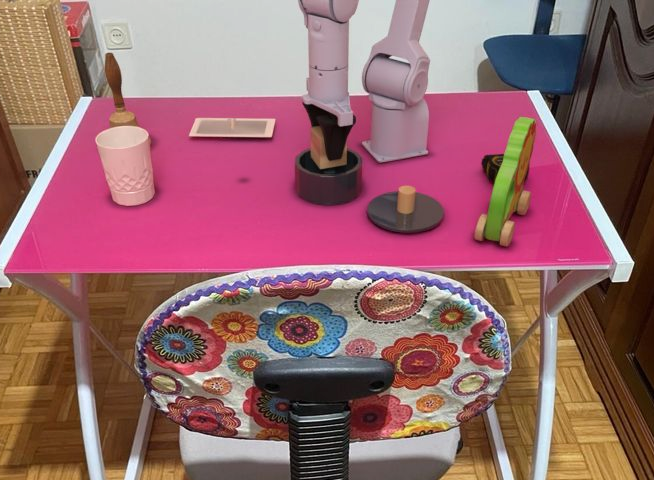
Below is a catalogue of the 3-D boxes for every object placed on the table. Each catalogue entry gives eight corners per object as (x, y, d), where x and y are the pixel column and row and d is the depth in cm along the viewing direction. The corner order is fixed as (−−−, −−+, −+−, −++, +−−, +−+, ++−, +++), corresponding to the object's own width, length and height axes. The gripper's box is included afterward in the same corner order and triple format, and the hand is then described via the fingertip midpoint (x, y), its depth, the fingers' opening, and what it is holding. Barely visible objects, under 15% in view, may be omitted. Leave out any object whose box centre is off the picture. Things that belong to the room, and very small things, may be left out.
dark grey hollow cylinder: (347, 169, 122) (347, 141, 119) (371, 198, 114) (372, 169, 111) (287, 179, 119) (286, 151, 116) (308, 210, 112) (308, 181, 108)
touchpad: (272, 142, 130) (271, 131, 128) (189, 141, 130) (187, 130, 129) (276, 124, 136) (275, 113, 134) (196, 123, 136) (195, 112, 135)
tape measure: (519, 170, 121) (523, 149, 119) (532, 189, 116) (536, 168, 114) (479, 171, 121) (482, 151, 118) (490, 191, 116) (493, 170, 113)
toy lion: (507, 253, 102) (527, 153, 92) (470, 244, 104) (485, 145, 94) (533, 202, 113) (553, 107, 103) (499, 194, 115) (515, 101, 105)
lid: (422, 191, 116) (424, 166, 113) (456, 227, 108) (460, 200, 105) (355, 204, 113) (356, 178, 110) (385, 242, 105) (387, 215, 102)
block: (336, 152, 116) (336, 122, 112) (346, 164, 113) (347, 134, 109) (310, 157, 115) (310, 127, 111) (320, 169, 111) (319, 138, 108)
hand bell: (97, 153, 127) (76, 61, 116) (114, 133, 133) (96, 44, 123) (142, 156, 126) (125, 64, 115) (157, 136, 132) (142, 46, 122)
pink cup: (167, 188, 117) (157, 129, 111) (143, 211, 112) (131, 151, 105) (125, 180, 119) (113, 122, 113) (99, 203, 114) (84, 144, 107)
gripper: (286, 51, 108) (289, 137, 117) (319, 85, 98) (320, 177, 106) (330, 45, 110) (330, 130, 119) (367, 78, 99) (364, 169, 108)
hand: (328, 152), depth 113 cm, fingers open, 4 cm apart
